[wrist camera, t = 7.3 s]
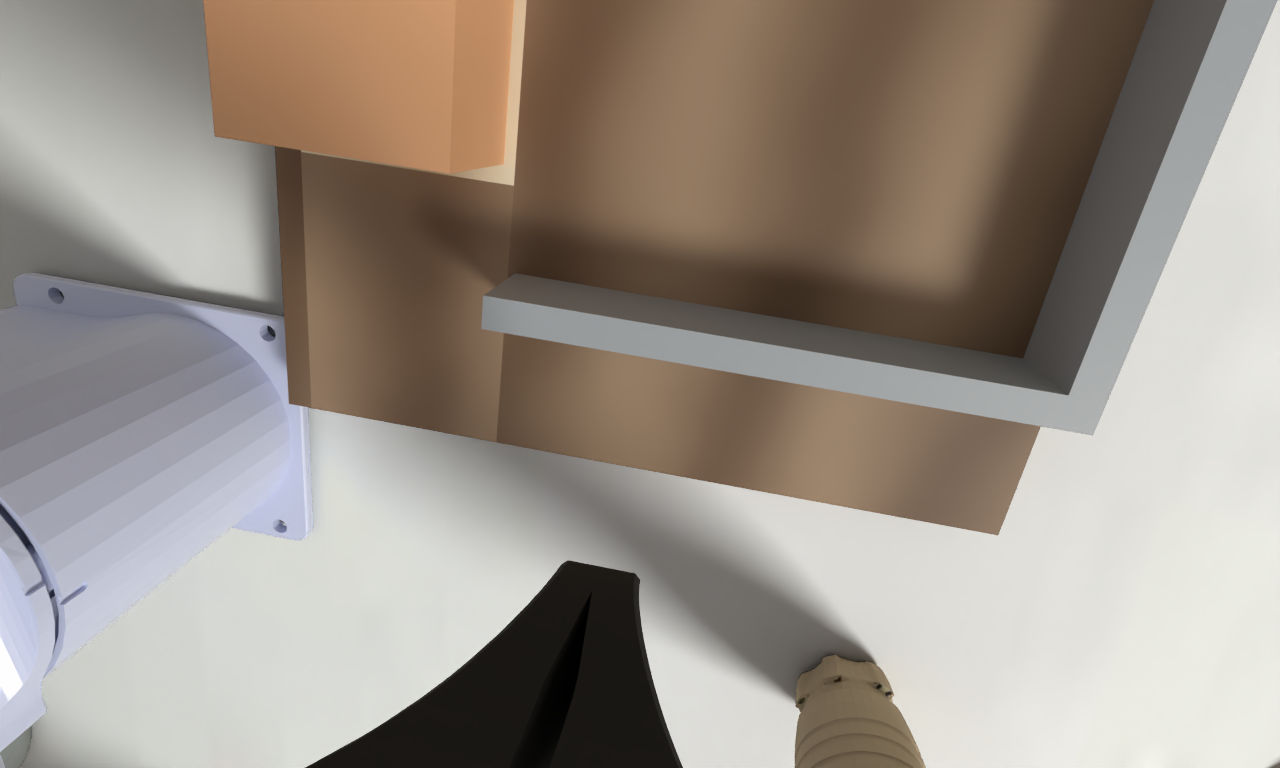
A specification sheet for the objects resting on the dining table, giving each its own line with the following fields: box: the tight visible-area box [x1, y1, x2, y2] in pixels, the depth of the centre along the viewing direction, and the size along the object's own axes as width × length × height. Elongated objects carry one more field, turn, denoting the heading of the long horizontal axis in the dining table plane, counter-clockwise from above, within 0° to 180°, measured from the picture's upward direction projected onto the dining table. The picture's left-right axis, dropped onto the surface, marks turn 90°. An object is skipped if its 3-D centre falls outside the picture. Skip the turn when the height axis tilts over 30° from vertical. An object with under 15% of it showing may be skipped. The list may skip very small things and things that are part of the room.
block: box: [203, 0, 514, 174], centre depth 15 cm, size 5×5×4 cm
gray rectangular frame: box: [481, 0, 1277, 435], centre depth 15 cm, size 14×12×2 cm
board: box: [275, 0, 1154, 535], centre depth 17 cm, size 20×20×2 cm
